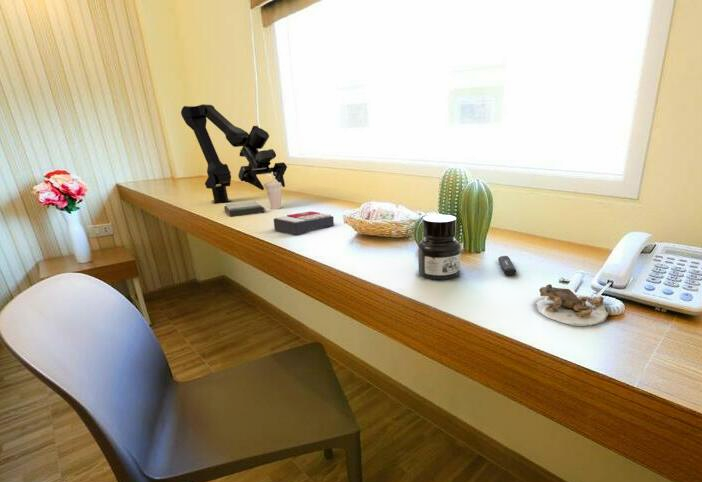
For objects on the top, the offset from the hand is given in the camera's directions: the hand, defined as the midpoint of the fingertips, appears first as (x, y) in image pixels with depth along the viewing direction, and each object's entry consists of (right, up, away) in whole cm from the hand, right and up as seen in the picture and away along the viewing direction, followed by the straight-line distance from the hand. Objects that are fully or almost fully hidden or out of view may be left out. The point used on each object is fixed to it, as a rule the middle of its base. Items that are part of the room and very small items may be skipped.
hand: (274, 187), depth 152 cm
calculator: (+20, -19, -28) cm, 40 cm away
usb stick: (+74, -33, -66) cm, 105 cm away
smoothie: (0, -7, +3) cm, 8 cm away
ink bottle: (+59, -35, -68) cm, 97 cm away
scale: (-10, -10, -3) cm, 15 cm away
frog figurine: (+80, -41, -85) cm, 124 cm away
